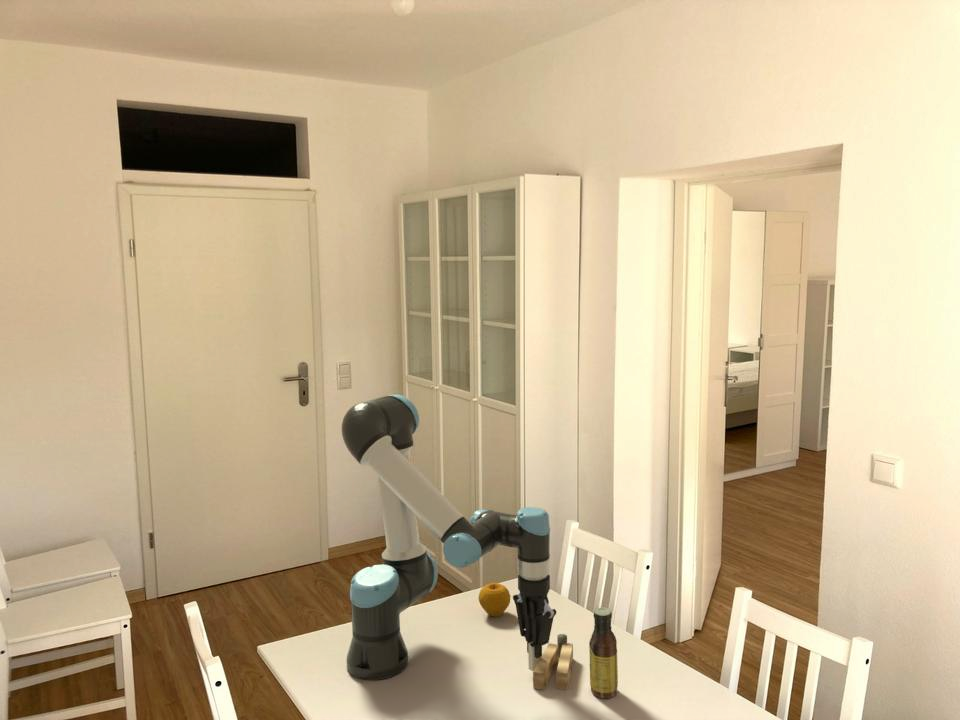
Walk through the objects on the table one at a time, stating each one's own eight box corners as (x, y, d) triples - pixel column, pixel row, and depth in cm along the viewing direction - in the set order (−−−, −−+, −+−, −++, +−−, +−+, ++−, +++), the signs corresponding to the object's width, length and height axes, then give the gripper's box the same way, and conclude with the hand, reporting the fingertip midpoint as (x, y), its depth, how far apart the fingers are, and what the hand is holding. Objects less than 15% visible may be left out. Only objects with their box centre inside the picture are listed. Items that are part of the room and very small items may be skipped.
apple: (477, 608, 221) (477, 578, 220) (509, 606, 222) (508, 576, 221) (479, 622, 213) (479, 591, 211) (512, 621, 213) (511, 590, 212)
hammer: (558, 653, 195) (557, 633, 195) (573, 654, 195) (573, 634, 194) (550, 688, 180) (550, 667, 179) (567, 689, 179) (567, 668, 178)
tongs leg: (549, 658, 193) (548, 643, 192) (558, 659, 192) (558, 644, 191) (533, 688, 180) (533, 671, 179) (543, 689, 179) (543, 673, 178)
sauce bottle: (599, 681, 182) (598, 601, 179) (622, 690, 178) (622, 608, 175) (584, 694, 177) (583, 611, 174) (608, 703, 173) (608, 619, 170)
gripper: (564, 578, 179) (565, 673, 183) (527, 561, 190) (528, 652, 193) (540, 587, 175) (541, 685, 178) (503, 569, 185) (505, 662, 188)
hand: (534, 668), depth 186 cm, fingers closed
